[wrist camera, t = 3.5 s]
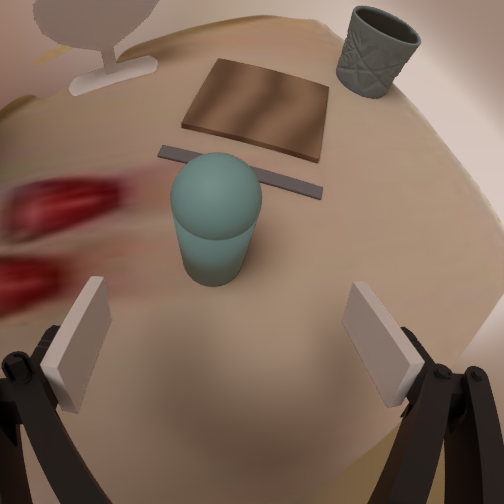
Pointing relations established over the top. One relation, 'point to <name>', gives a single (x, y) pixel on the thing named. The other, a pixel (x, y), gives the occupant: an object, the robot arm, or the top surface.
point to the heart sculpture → (96, 35)
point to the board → (261, 109)
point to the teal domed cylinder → (215, 215)
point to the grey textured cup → (375, 51)
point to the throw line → (261, 174)
